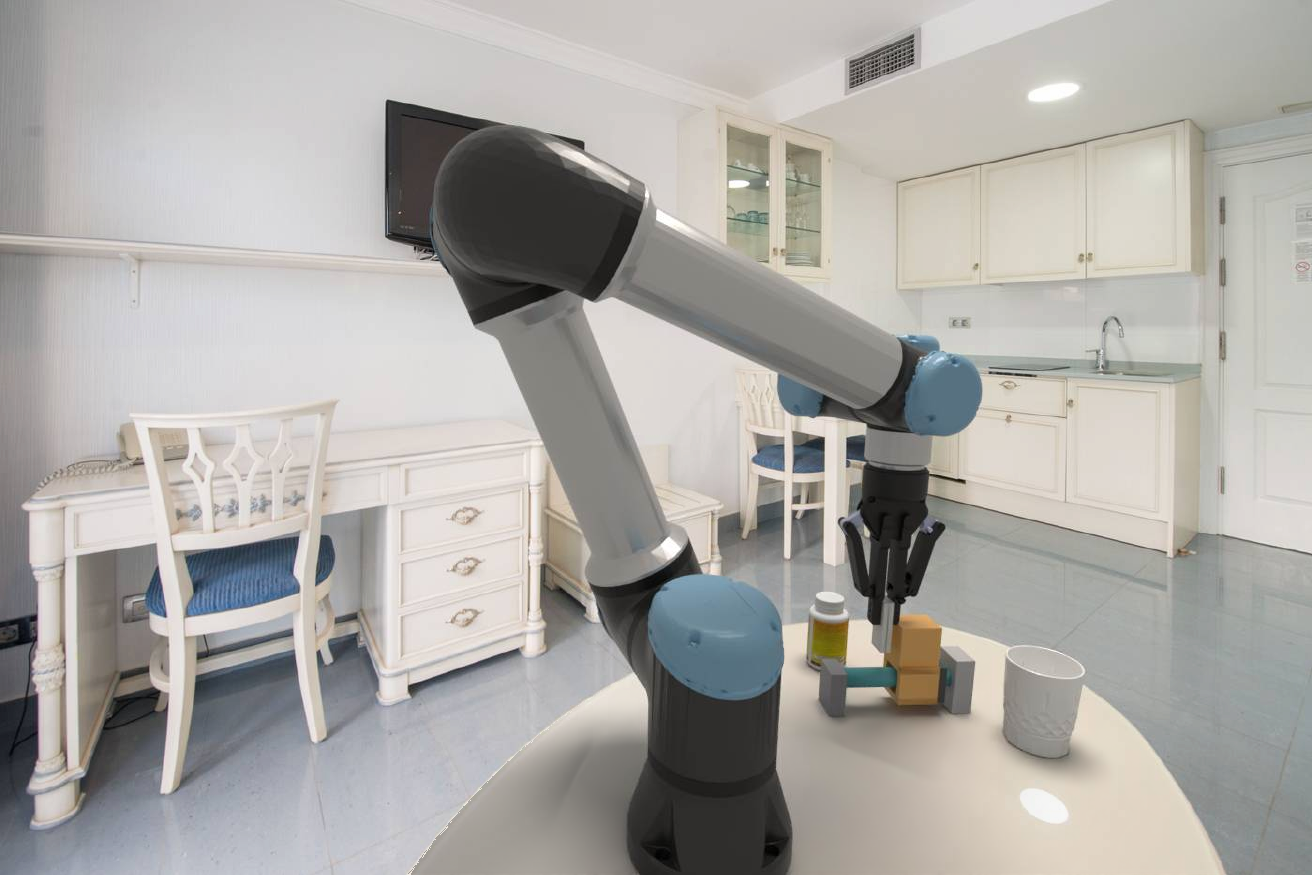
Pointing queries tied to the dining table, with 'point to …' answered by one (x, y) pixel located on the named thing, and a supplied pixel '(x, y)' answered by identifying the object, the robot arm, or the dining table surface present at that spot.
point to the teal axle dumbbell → (950, 691)
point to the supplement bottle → (827, 630)
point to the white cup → (1041, 699)
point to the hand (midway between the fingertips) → (880, 647)
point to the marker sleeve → (915, 660)
